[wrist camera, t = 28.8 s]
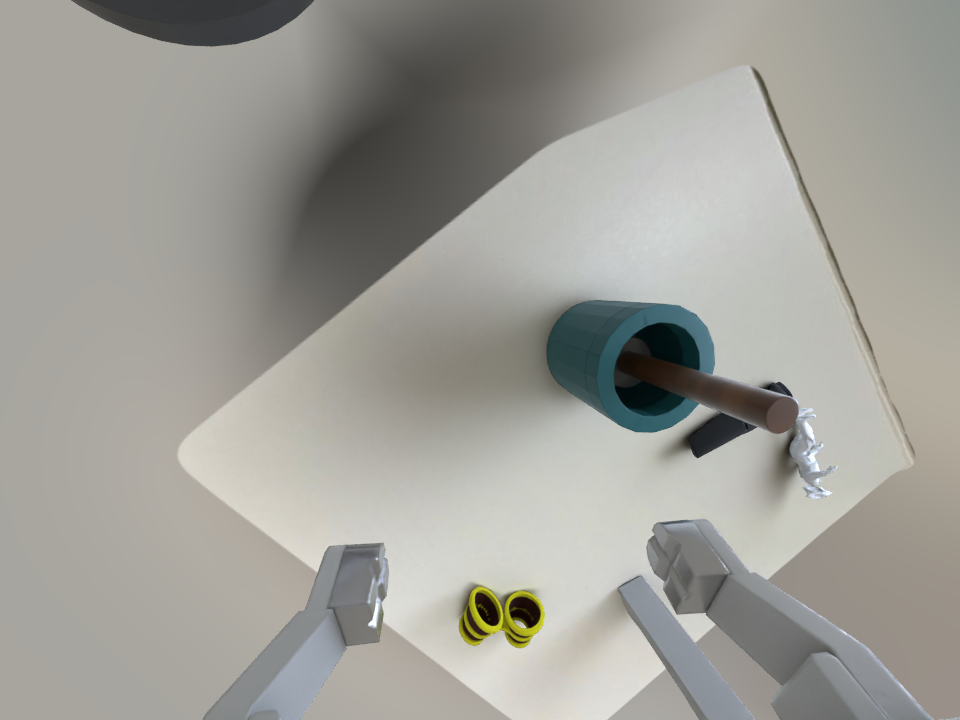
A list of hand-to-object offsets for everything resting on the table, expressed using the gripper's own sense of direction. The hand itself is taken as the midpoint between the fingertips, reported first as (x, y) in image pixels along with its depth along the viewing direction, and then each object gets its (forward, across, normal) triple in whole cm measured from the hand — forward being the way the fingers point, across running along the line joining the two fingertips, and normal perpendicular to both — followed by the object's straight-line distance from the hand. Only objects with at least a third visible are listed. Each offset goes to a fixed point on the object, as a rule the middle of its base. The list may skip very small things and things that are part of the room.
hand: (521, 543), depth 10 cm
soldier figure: (+27, -45, +23) cm, 58 cm away
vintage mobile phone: (+19, -22, +42) cm, 51 cm away
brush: (+27, -14, +7) cm, 31 cm away
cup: (+28, -14, +7) cm, 32 cm away
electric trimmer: (+27, -34, +18) cm, 47 cm away
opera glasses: (+18, -2, +38) cm, 42 cm away
